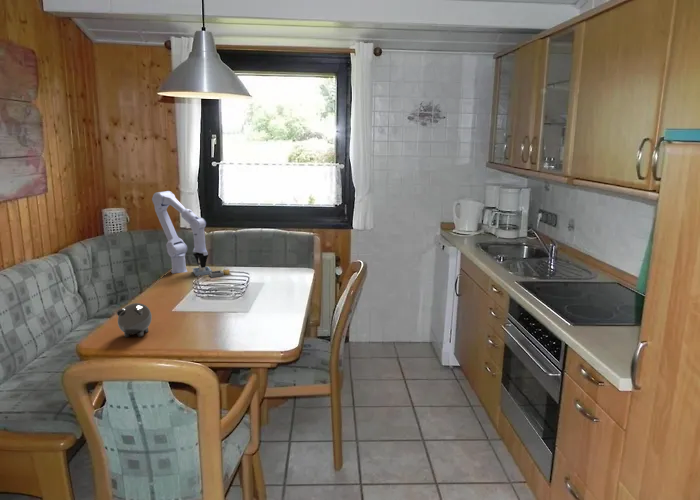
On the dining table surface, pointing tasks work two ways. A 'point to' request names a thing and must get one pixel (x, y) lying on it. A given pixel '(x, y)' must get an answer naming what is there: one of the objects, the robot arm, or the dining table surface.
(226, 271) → the fuse block
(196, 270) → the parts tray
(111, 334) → the dining table surface
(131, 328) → the piggy bank
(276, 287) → the dining table surface
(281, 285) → the dining table surface
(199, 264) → the fuse
